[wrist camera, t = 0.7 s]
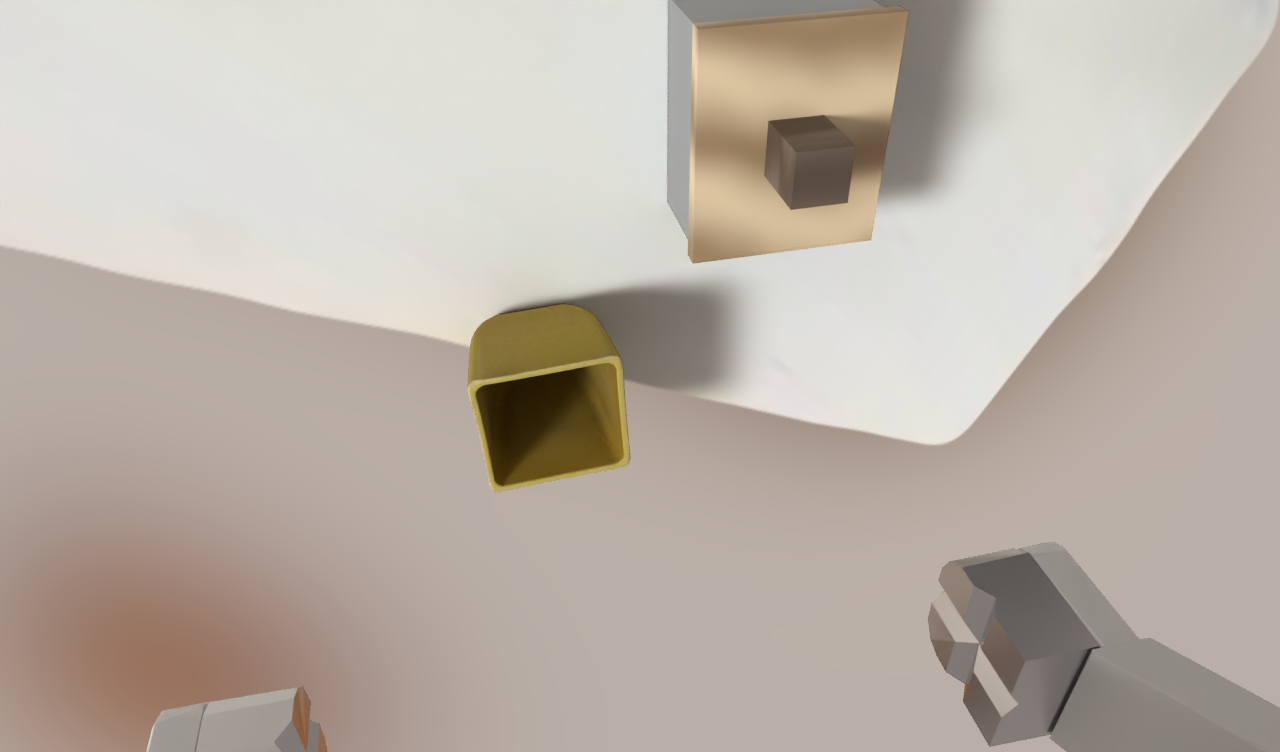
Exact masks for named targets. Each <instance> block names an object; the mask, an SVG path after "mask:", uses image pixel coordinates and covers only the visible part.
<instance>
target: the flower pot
mask: <svg viewBox="0 0 1280 752" xmlns="http://www.w3.org/2000/svg"><path fill="white" fill-rule="evenodd" d="M468 371H469V372H468V388H467V390H468V394H469V399H470V402H471V406H472V409H473V413H474V417H475V420H476V424H477V428H478V432H479V436H480V441H481V446H482V450H483V455H484V460H485V464H486V470H487V475H488V480H489V485H490V487H491V489H492V490H493V491H494V492H500V491H507V490H512V489H516V488H521V487H525V486H531V485H535V484H540V483H544V482H550V481H555V480H559V479H565V478H569V477H575V476H580V475H584V474H589V473H595V472H601V471H605V470H611V469H615V468H619V467H623V466H626V465H628V464H629V461H630V449H629V448H630V447H629V437H628V428H627V414H626V405H625V391H624V374H623V365H622V359H621V357H620V356H619V354H618V352H617V350H616V348H615V347H614V345H613V343H612V341H611V340H610V338H609V336H608V334H607V333H606V331H605V329H604V328H603V326H602V324H601V323H600V321H599V320H598V319H597V318H596V317H595V316H594V315H593V314H592V313H590V312H589V311H587V310H585V309H583V308H581V307H578V306H573V305H567V304H559V305H553V306H548V307H542V308H536V309H531V310H525V311H519V312H513V313H506V314H500V315H496V316H494V317H492V318H490V319H488V320H486V321H485V322H483V323H482V324H481V325H480V326H479V327H478V328H477V330H476V331H475V333H474V335H473V337H472V340H471V344H470V355H469V370H468Z"/></svg>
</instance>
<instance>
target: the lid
mask: <svg viewBox="0 0 1280 752" xmlns="http://www.w3.org/2000/svg"><path fill="white" fill-rule="evenodd" d="M908 13H909V11H907V10H906V9H904V8H902V7H901V6H891V7H879V8H867V9H855V10H844V11H832V12H820V13H808V14H796V15H785V16H773V17H761V18H749V19H738V20H726V21H714V22H702V23H693V33H692V83H691V132H690V182H689V231H688V256H689V257H690V259H691V261H692V263H700V262H708V261H716V260H723V259H731V258H738V257H746V256H754V255H761V254H769V253H777V252H784V251H792V250H799V249H807V248H815V247H822V246H830V245H838V244H845V243H853V242H860V241H868V240H871V237H872V231H873V224H874V218H875V212H876V206H877V200H878V194H879V188H880V182H881V176H882V170H883V164H884V158H885V152H886V146H887V140H888V134H889V128H890V122H891V116H892V110H893V104H894V98H895V92H896V85H897V79H898V73H899V67H900V61H901V55H902V49H903V43H904V37H905V31H906V25H907V19H908Z"/></svg>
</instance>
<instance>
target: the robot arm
mask: <svg viewBox="0 0 1280 752" xmlns="http://www.w3.org/2000/svg"><path fill="white" fill-rule="evenodd" d="M939 582H940V584H941V586H942V587H943V589H944V591H943V592H942V593H941V594H940V595H939V596H938V597H937V598H936V599H935V600H934V601H933V602H932V604H931V609H930V613H929V617H928V623H929V631H930V639H931V642H932V644H933V647H934V649H935V652H936V655H937V657H938V658H939V660H940V662H941V664H942V666H943V667H944V669H945V671H946V672H947V673H949V674H950V675H952V676H953V677H955V678H957V679H958V680H960V681H961V682H963V683H964V684H965V689H964V697H963V702H964V704H965V706H966V707H967V709H968V711H969V712H970V714H971V716H972V717H973V719H974V721H975V723H976V724H977V726H978V728H979V730H980V731H981V733H982V735H983V736H984V738H985V740H986V741H987V743H988V745H989V746H990V747H991V746H996V745H1001V744H1005V743H1011V742H1016V741H1021V740H1026V739H1031V738H1036V737H1040V736H1046V735H1051V736H1050V739H1051V740H1052V741H1054V742H1055V743H1056V744H1058V745H1059V746H1060V747H1061V748H1063V749H1064V750H1065V751H1067V752H1280V708H1279V707H1277V706H1275V705H1274V704H1272V703H1270V702H1268V701H1266V700H1264V699H1262V698H1261V697H1259V696H1257V695H1255V694H1253V693H1251V692H1249V691H1247V690H1246V689H1244V688H1242V687H1240V686H1238V685H1236V684H1235V683H1233V682H1231V681H1229V680H1227V679H1225V678H1224V677H1222V676H1220V675H1218V674H1216V673H1214V672H1213V671H1211V670H1209V669H1207V668H1205V667H1203V666H1201V665H1200V664H1198V663H1196V662H1194V661H1192V660H1190V659H1189V658H1187V657H1185V656H1183V655H1181V654H1179V653H1177V652H1176V651H1174V650H1172V649H1170V648H1168V647H1166V646H1165V645H1162V644H1161V643H1159V642H1157V641H1155V640H1153V639H1151V638H1144V639H1139V638H1138V637H1137V636H1136V634H1135V633H1134V632H1133V631H1132V629H1131V628H1130V627H1129V626H1128V625H1127V624H1126V622H1125V621H1124V620H1123V619H1122V617H1121V616H1120V615H1119V614H1118V612H1117V611H1116V610H1115V609H1114V608H1113V606H1112V605H1111V604H1110V603H1109V601H1108V600H1107V599H1106V598H1105V597H1104V595H1103V594H1102V593H1101V592H1100V590H1098V588H1097V587H1096V586H1095V584H1094V583H1093V582H1092V581H1091V579H1090V578H1089V577H1088V576H1087V575H1086V573H1085V572H1084V571H1083V570H1082V569H1081V567H1080V566H1079V565H1078V564H1077V562H1075V560H1074V559H1073V557H1072V556H1071V555H1070V554H1069V553H1068V552H1067V550H1066V549H1065V548H1064V547H1062V546H1060V545H1059V544H1057V543H1056V542H1048V543H1042V544H1038V545H1033V546H1028V547H1024V548H1019V549H1015V548H1013V549H1008V550H1002V551H998V552H993V553H988V554H984V555H978V556H974V557H969V558H964V559H959V560H954V561H950V562H948V563H947V564H946V565H945V566H944V567H943V568H942V570H941V574H940V577H939ZM310 705H311V702H310V700H309V698H308V695H307V693H306V691H305V689H304V687H303V686H301V687H296V688H289V689H283V690H278V691H272V692H266V693H260V694H255V695H249V696H243V697H237V698H232V699H225V700H220V701H214V702H207V703H201V704H196V705H190V706H186V707H180V708H174V709H169V710H164V711H162V712H161V714H160V715H159V717H158V719H157V720H156V722H155V724H154V726H153V728H152V732H151V736H150V740H149V744H148V748H147V752H328V751H327V746H326V742H325V737H324V734H323V732H322V729H321V726H320V724H319V723H316V722H314V721H312V720H310V719H309V718H310Z"/></svg>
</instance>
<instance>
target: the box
mask: <svg viewBox="0 0 1280 752" xmlns="http://www.w3.org/2000/svg"><path fill="white" fill-rule="evenodd" d="M879 7H883V6H882V5H880V4H879V3H877V2H876V1H874V0H668V152H667V202H668V204H669V206H670V208H671V209H672V211H673V213H674V215H675V217H676V219H677V220H678V222H679V224H680V226H681V228H682V230H683V231H684V233H685V235H686V237H687V239H688V231H689V182H690V132H691V83H692V33H693V23H702V22H714V21H726V20H738V19H749V18H761V17H773V16H785V15H796V14H808V13H820V12H832V11H844V10H855V9H867V8H879Z"/></svg>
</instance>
